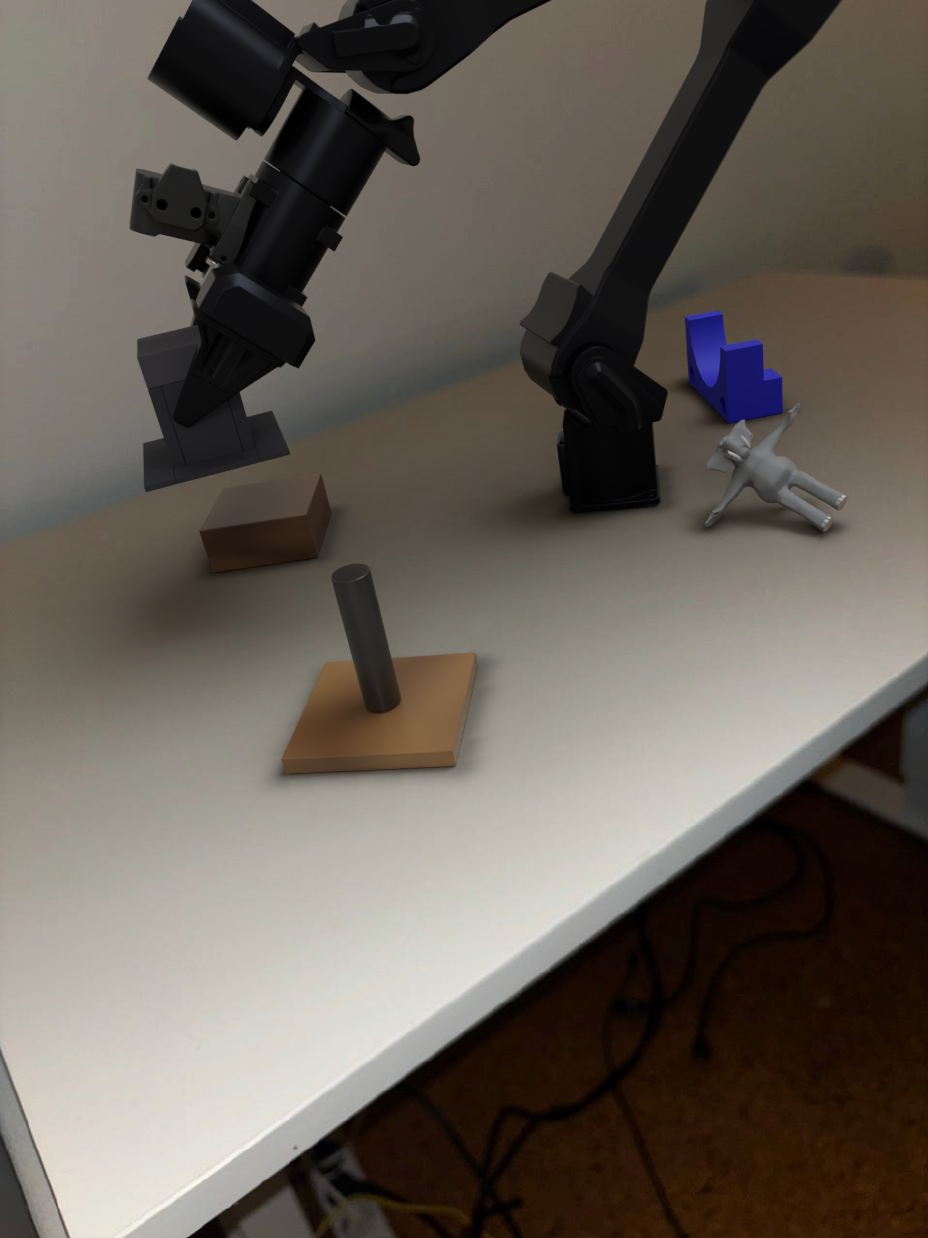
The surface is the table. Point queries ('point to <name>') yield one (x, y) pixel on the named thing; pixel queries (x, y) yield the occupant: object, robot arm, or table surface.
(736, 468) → the elephant figurine
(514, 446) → the table surface
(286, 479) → the hat block
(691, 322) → the blue cradle bracket
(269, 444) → the hat
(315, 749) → the hat stand
